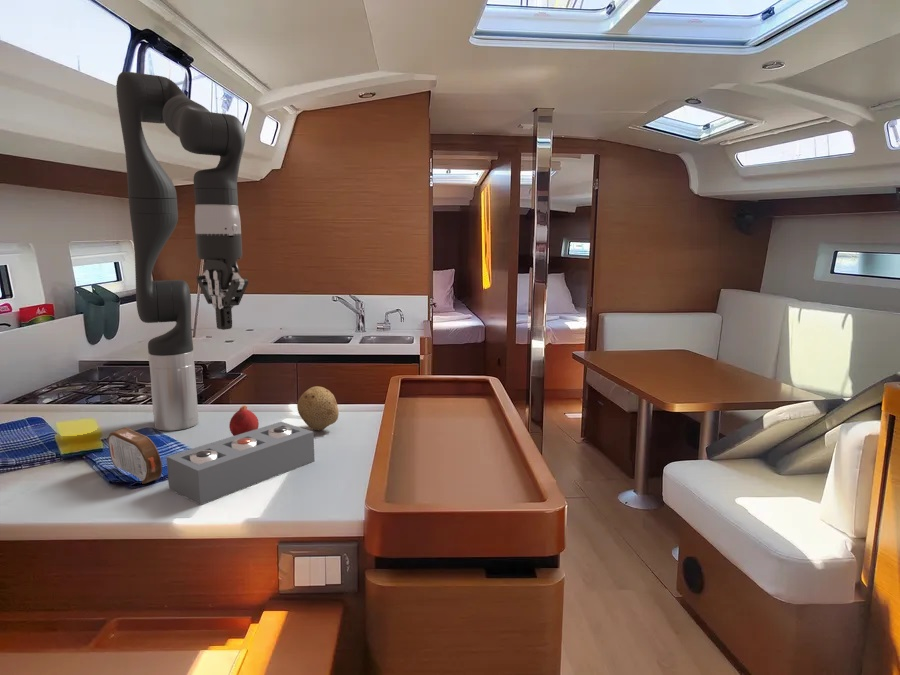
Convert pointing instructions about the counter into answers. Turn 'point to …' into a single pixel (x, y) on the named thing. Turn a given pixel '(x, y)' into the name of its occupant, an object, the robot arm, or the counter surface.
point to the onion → (243, 421)
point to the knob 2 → (279, 432)
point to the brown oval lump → (318, 408)
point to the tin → (135, 454)
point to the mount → (239, 463)
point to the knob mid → (244, 443)
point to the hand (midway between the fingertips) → (224, 328)
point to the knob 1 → (203, 456)
